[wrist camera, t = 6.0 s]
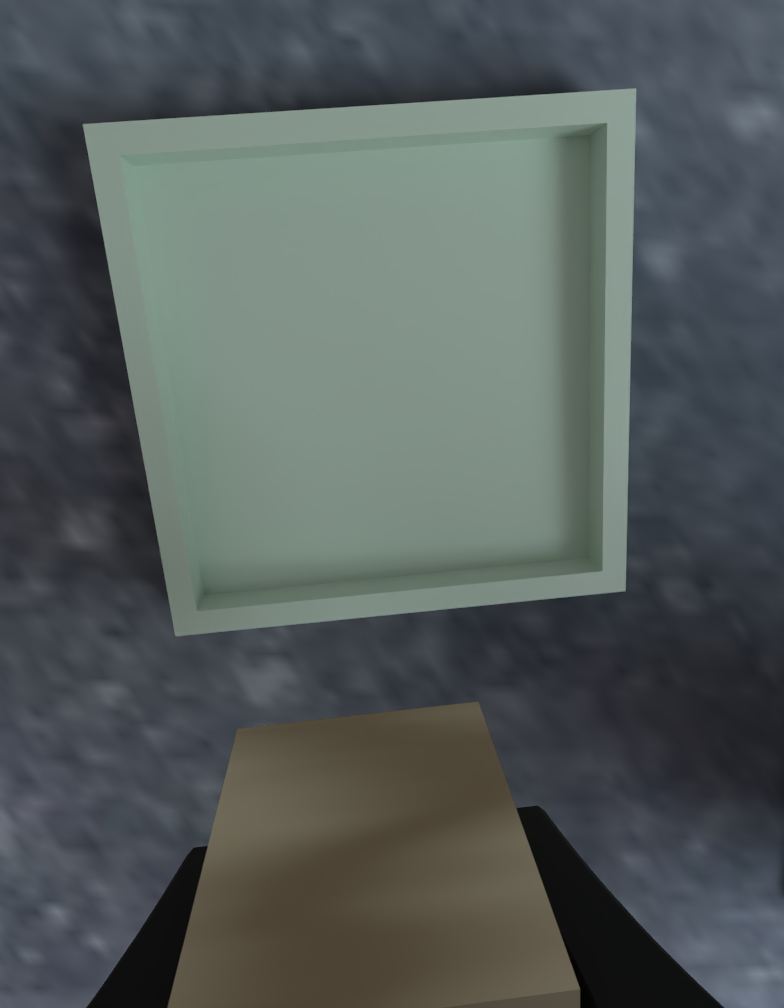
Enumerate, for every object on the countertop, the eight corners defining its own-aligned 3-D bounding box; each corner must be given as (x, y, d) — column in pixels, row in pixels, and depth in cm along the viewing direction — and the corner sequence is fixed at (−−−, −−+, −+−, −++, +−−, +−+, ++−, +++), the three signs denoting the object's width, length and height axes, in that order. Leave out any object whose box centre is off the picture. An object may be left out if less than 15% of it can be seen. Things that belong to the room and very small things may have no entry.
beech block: (478, 701, 11) (580, 989, 6) (488, 892, 12) (582, 1261, 8) (237, 728, 11) (157, 1046, 6) (269, 921, 12) (222, 1316, 7)
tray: (608, 109, 15) (636, 88, 14) (603, 569, 18) (625, 591, 17) (107, 142, 15) (82, 123, 13) (188, 610, 18) (175, 636, 16)
